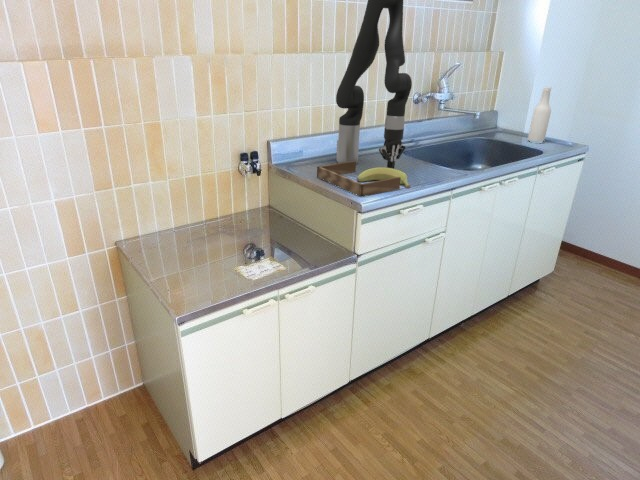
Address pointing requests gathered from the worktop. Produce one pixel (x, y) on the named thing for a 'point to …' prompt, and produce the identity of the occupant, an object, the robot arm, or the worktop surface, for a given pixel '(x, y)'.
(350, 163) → the box
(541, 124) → the alcohol
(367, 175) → the banana
